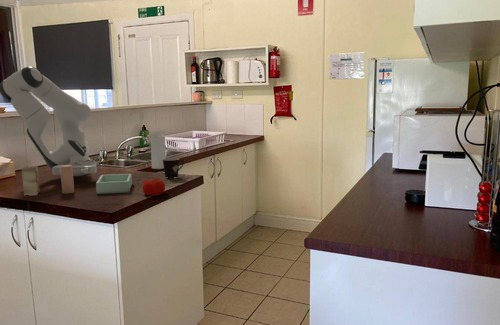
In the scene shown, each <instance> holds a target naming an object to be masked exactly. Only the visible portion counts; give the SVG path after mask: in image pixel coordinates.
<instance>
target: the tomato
mask: <svg viewBox="0 0 500 325" xmlns="http://www.w3.org/2000/svg"><path fill="white" fill-rule="evenodd" d="M165 190H166V183H165V182H164V181H163V179H160V178H157V177H156V178H152V179H146V180H144V182H143V184H142V191H143V193H144V195H146V196H154V197H156V196H157V197H158V196H160V195H162V194H163V193H164V192H165Z"/></svg>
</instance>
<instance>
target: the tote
mask: <svg viewBox="0 0 500 325" xmlns="http://www.w3.org/2000/svg"><path fill="white" fill-rule="evenodd" d="M132 176H133V175H132V173H118V174H117V173H115V174H113V173H112V174H111V173H110V174H101V175H99V178H98V180H97V181H96V183H95V188H96V189H95V190H96V194H97V195H98V194H99V195H101V194H121V193H130V192H131V189H130V188H132V184H133V178H132Z"/></svg>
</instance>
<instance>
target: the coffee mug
mask: <svg viewBox="0 0 500 325" xmlns="http://www.w3.org/2000/svg"><path fill="white" fill-rule="evenodd" d="M180 162H182V164H181V166H180ZM163 165H164V168H163V172H164V177H168V178H174V177H178V178H179V171H180V170H181V169H182V168H183V167H184V160H182V159H180V158H178V157H166V158H164V159H163Z"/></svg>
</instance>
